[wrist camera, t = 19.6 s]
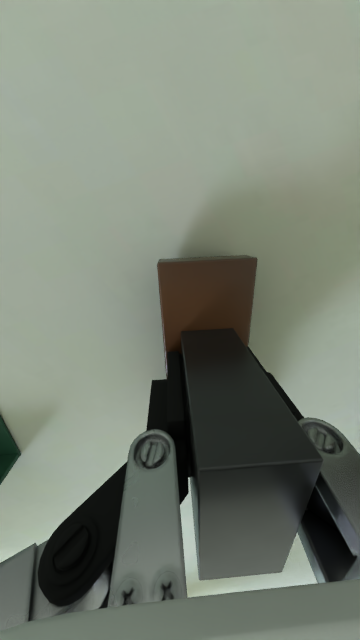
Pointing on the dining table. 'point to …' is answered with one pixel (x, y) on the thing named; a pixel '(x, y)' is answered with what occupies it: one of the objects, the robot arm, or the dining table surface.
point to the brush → (233, 422)
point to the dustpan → (7, 451)
